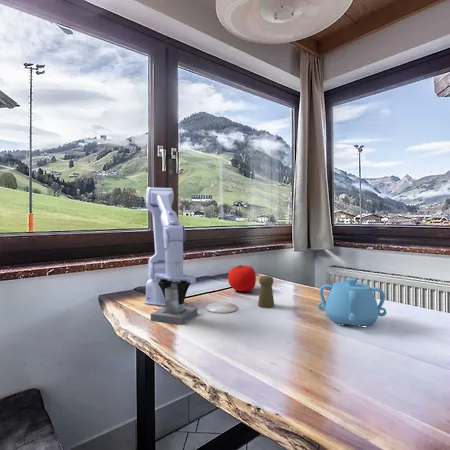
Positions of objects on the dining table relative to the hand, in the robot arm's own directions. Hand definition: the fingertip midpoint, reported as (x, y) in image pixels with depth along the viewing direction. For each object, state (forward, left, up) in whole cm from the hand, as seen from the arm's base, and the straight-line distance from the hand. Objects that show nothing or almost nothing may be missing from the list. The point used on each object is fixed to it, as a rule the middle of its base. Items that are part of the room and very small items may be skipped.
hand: (174, 302), depth 105 cm
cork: (+25, +23, -5) cm, 34 cm away
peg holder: (0, 0, -5) cm, 5 cm away
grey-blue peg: (0, 0, -3) cm, 3 cm away
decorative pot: (+54, +16, -5) cm, 57 cm away
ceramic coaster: (+11, +14, -5) cm, 18 cm away
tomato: (+10, +41, -5) cm, 42 cm away
